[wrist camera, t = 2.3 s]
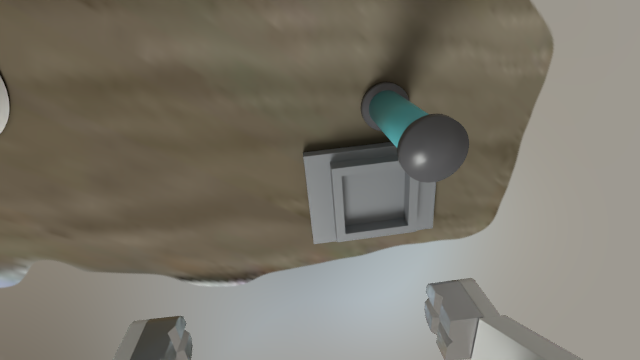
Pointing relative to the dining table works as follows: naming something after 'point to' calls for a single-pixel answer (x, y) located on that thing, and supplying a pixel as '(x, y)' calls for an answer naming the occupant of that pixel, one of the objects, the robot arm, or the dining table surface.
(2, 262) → the dining table surface
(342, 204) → the board
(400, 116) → the teal and grey rod
